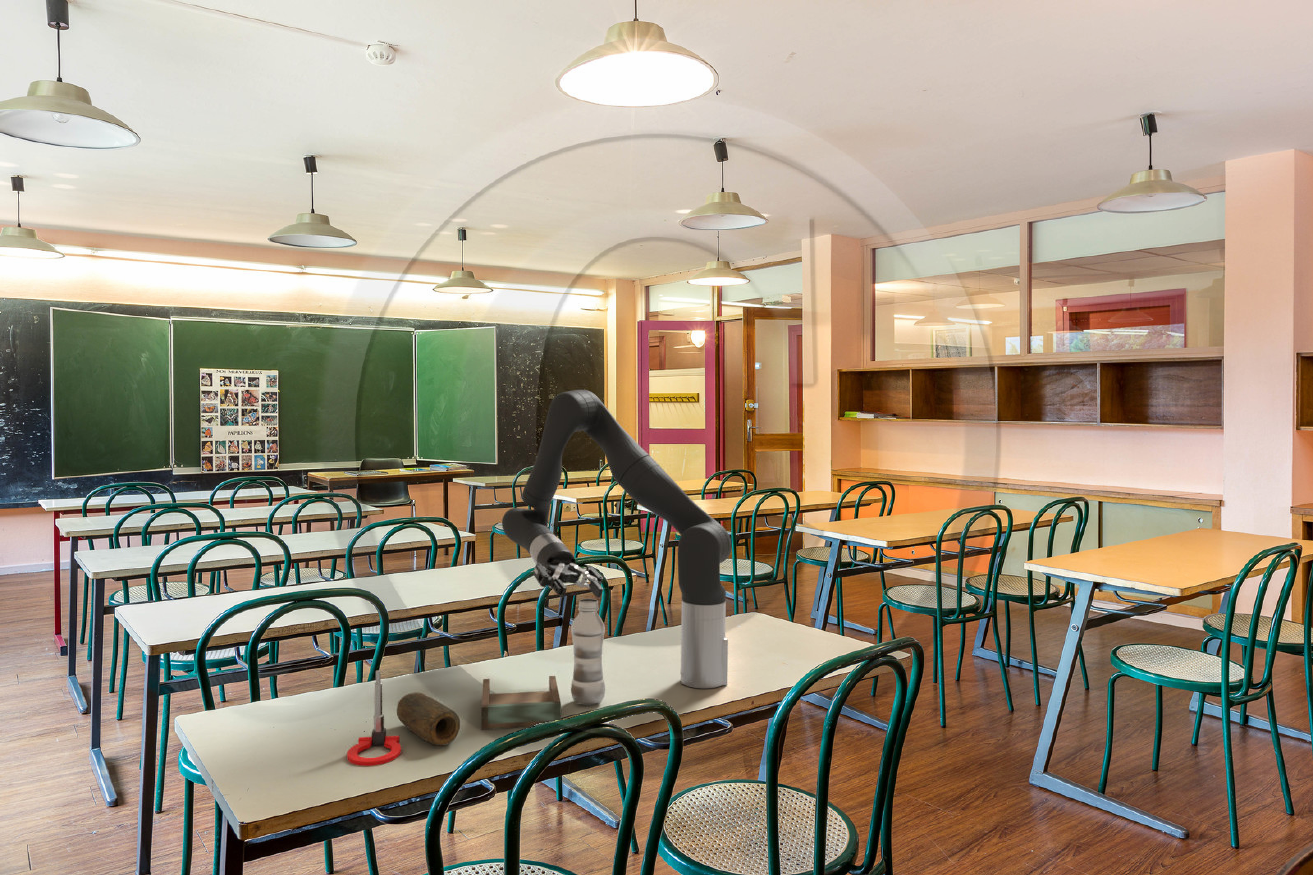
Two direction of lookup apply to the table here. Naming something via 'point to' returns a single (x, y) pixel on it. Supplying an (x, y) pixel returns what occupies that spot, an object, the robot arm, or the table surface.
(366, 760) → the tow hook
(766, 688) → the table surface
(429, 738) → the brown wooden tube
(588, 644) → the plastic bottle
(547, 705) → the bay
